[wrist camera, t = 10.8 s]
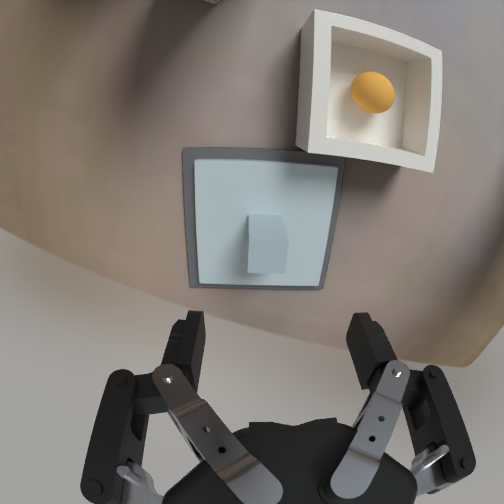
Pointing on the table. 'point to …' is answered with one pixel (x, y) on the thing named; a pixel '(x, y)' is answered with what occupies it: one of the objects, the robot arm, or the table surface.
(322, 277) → the mat
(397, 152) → the dish
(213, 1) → the coffee box
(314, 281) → the lid
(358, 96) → the clementine
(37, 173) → the table surface
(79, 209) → the table surface
